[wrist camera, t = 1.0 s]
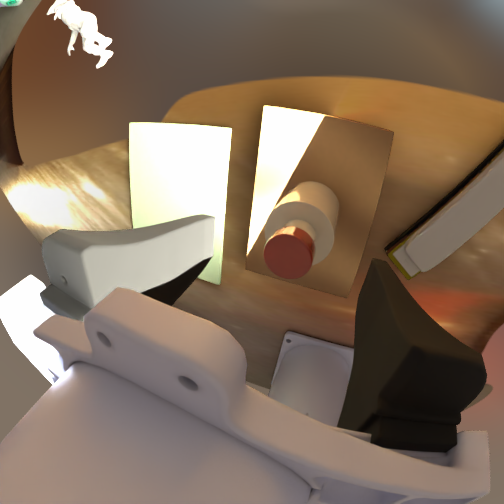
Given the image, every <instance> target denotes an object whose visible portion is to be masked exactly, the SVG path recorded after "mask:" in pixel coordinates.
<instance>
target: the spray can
mask: <svg viewBox="0 0 504 504" xmlns="http://www.w3.org/2000/svg"><path fill="white" fill-rule="evenodd" d="M22 2H23V0H0V7H6V6H19V5H20V4H21V3H22Z"/></svg>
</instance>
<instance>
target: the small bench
mask: <svg viewBox="0 0 504 504" xmlns="http://www.w3.org/2000/svg"><path fill="white" fill-rule="evenodd" d="M393 135H394V132H392V131H390V130H386V129H383V128H379V127H376V126H372V125H368V124H364V123H360V122H356V121H352V120H348V119H343V118H339V117H334V116H329V115H324V114H319V113H313V112H308V111H302V110H296V109H289V108H282V107H274V106H264V107H263V116H262V124H261V133H260V142H259V150H258V159H257V168H256V177H255V186H254V194H253V203H252V212H251V221H250V230H249V239H248V248H247V257H246V267H245V269H246V270H249V271H252V272H256V273H259V274H262V275H266V276H269V277H273V278H276V279H280V280H283V281H287V282H290V283H294V284H297V285H301V286H304V287H308V288H311V289H315V290H319V291H322V292H326V293H329V294H333V295H337V296H340V297H344V298H348V295H349V292H350V290H351V287H352V284H353V281H354V278H355V276H356V273H357V270H358V267H359V264H360V261H361V258H362V255H363V252H364V249H365V245H366V242H367V239H368V236H369V232H370V229H371V226H372V222H373V219H374V215H375V212H376V208H377V204H378V201H379V197H380V193H381V189H382V185H383V181H384V177H385V173H386V168H387V164H388V159H389V155H390V150H391V145H392V140H393ZM306 181H314V182H319V183H322V184H324V185H326V186H327V187H329V188H330V189H331V190H332V191H333V192H334V194H335V195H336V197H337V199H338V201H339V205H340V214H339V219H338V224H337V229H336V234H335V239H334V244H333V247H332V249H331V251H330V253H329V254H328V256H327V257H326V258H325V259H324V260H322V261H321V262H319V263H317V264H315V265H312V266H311V268H310V270H309V271H308V272H307V273H306V274H305V275H304V276H302V277H300V278H297V279H285V278H281V277H279V276H277V275H275V274H274V273H273V272H272V271H270V269H269V268H268V267H267V265H266V263H265V261H264V256H263V251H264V247H265V245H266V243H267V242H266V239H265V223H266V220H267V218H268V216H269V214H270V213H271V212H272V211H273V209H274V208H275V207H276V206H277V205H278V204H279V203H280V201H281V200H282V199H283V198H284V197H285V196H286V195H287V193H288V192H289V191H290V190H291V189H292V188H293V187H294V186H296V185H297V184H299V183H302V182H306Z"/></svg>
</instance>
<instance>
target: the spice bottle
mask: <svg viewBox="0 0 504 504" xmlns="http://www.w3.org/2000/svg"><path fill="white" fill-rule="evenodd" d="M339 214H340V205H339V201H338V199H337V197H336V195H335V194H334V192H333V191H332V190H331V189H330V188H329V187H327V186H326V185H324V184H322V183H319V182H314V181H306V182H302V183H299V184H297V185H296V186H294V187H293V188H292V189H291V190H290V191H289V192H288V193H287V195H286V196H285V197H284V198H283V199H282V200H281V201H280V203H279V204H278V205H277V206H276V207H275V208H274V209H273V211H272V212H271V213H270V214H269V216H268V218H267V220H266V223H265V239H266V242H267V243H266V245H265V247H264V251H263V256H264V261H265V263H266V265H267V267H268V268H269V269H270V271H272V272H273V273H274V274H275V275H277V276H279V277H281V278H285V279H297V278H300V277H302V276H304V275H305V274H306V273H307V272H308V271H309V270H310V268H311V266H312V265H315V264H317V263H319V262H321V261H322V260H324V259H325V258H326V257H327V256H328V254H329V253H330V251H331V249H332V247H333V244H334V239H335V234H336V229H337V224H338V219H339Z"/></svg>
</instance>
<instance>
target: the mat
mask: <svg viewBox="0 0 504 504" xmlns="http://www.w3.org/2000/svg"><path fill="white" fill-rule="evenodd" d="M231 132H232V128H226V127H216V126H205V125H192V124H175V123H146V122H145V123H144V122H132V123H129V166H130V191H131V207H132V220H133V229H134V228H141V227H146V226H151V225H155V224H160V223H164V222H168V221H172V220H176V219H180V218H184V217H189V216H193V215H199V214H205V215H210V216H214V217H215V232H214V255H213V257H212V258H211V260H210V262H209V263H208V265H207V266H206V267H205V269H204V270H203V272H202V273H201V274H200V275H199V276H198V277H197V278H200V279H203V280H206V281H209V282H212V283H215V284H218V285H219V284H220V283H221V270H222V252H223V236H224V220H225V206H226V192H227V179H228V167H229V155H230V143H231Z"/></svg>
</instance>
